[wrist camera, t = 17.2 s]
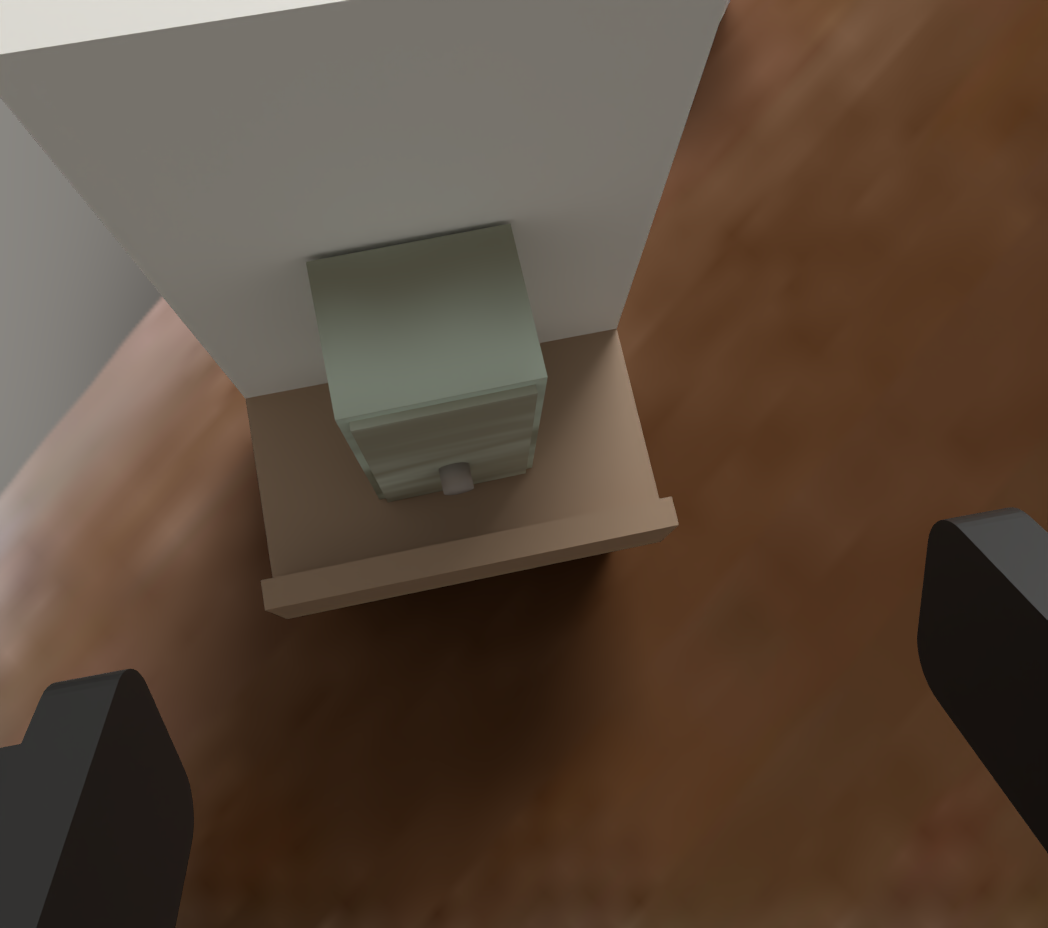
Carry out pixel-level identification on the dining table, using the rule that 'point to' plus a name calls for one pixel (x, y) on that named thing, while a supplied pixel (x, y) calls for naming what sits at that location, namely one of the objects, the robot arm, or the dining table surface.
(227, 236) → the white display stand
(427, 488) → the sage cabinet
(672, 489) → the dining table surface
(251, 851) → the dining table surface
